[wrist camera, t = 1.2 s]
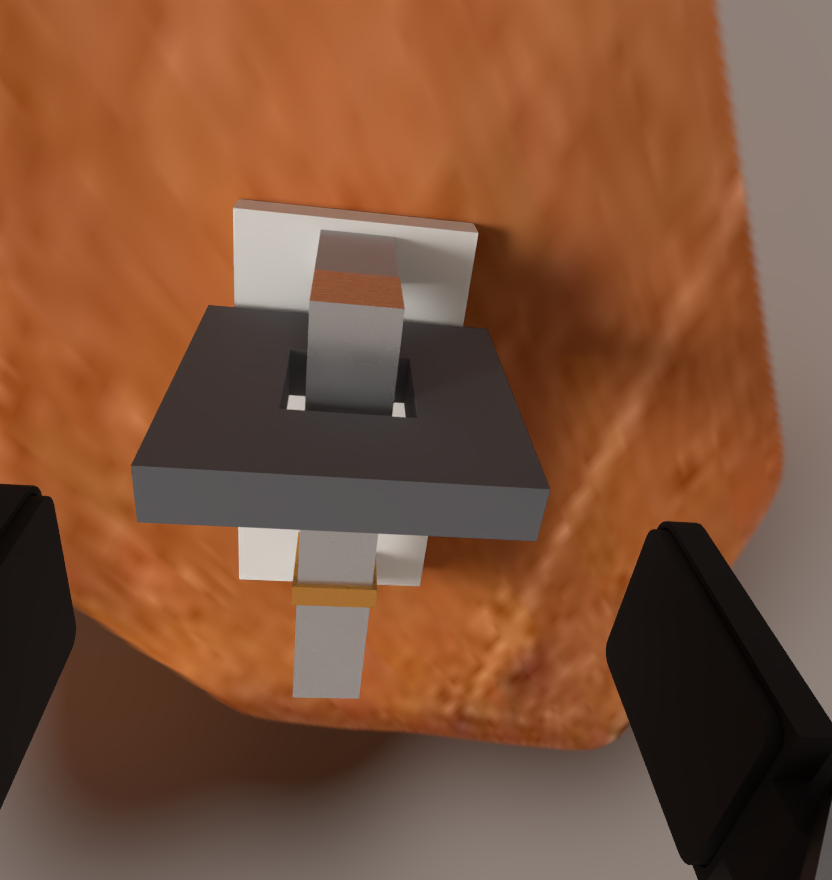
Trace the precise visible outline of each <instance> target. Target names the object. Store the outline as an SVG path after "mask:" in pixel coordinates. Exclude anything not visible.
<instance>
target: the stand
mask: <svg viewBox="0 0 832 880" xmlns="http://www.w3.org/2000/svg"><path fill="white" fill-rule="evenodd" d="M233 237H234V296H235V307H236V308H248V309H260V310H272V311H283V312H295V313H307V314H309V301H310V294H311V288H312V282H313V275H314V269H316V270H327V271H338V272H349V273H359V274H370V275H381V276H392V277H400V281H401V288H402V294H403V301H404V307H405V311H404V320H403V322H413V323H424V324H436V325H448V326H459V327H463V323H464V317H465V311H466V305H467V299H468V293H469V287H470V281H471V275H472V269H473V263H474V257H475V251H476V245H477V239H478V231H477V229H476V227H475V225H474V223H466V222H456V221H447V220H437V219H427V218H418V217H408V216H398V215H389V214H379V213H370V212H360V211H350V210H341V209H331V208H321V207H312V206H302V205H293V204H283V203H273V202H264V201H254V200H244V199H238V200H237V202H236V204H235V205H234V207H233ZM287 409H291V410H305V396H294V395H289V399H288V405H287ZM392 416H393V417H405V408H404V403H394V404H393V413H392ZM298 532H300V530H291V529H270V528H249V527H238V535H239V579H249V580H275V581H293V575H294V566H295V557H296V548H297V539H298ZM427 540H428V536H417V535H396V534H378V540H377V549H376V573H377V584H378V585H404V586H420V582H421V576H422V570H423V564H424V558H425V552H426V546H427Z"/></svg>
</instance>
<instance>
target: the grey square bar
mask: <svg viewBox="0 0 832 880" xmlns="http://www.w3.org/2000/svg"><path fill="white" fill-rule="evenodd" d="M404 311H405V307H404V301H403V294H402V288H401V281H400V277H392V276H381V275H370V274H359V273H349V272H338V271H327V270H316V269H314V275H313V282H312V288H311V294H310V301H309V324H308V348H307V372H306V396H305V411H320V412H335V413H349V414H364V415H378V416H392V413H393V404H394V396H395V387H396V379H397V370H398V362H399V353H400V345H401V337H402V328H403V320H404ZM377 540H378V534H375V533H354V532H333V531H312V530H300V532H298V539H297V548H296V557H295V566H294V575H293V584H292V605H297V609H296V633H295V657H294V680H293V697H306V698H359V693H360V685H361V676H362V668H363V659H364V651H365V642H366V634H367V625H368V617H369V608H375V603H376V595H377V573H376V549H377Z"/></svg>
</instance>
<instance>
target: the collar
mask: <svg viewBox="0 0 832 880" xmlns="http://www.w3.org/2000/svg"><path fill="white" fill-rule="evenodd" d="M308 324H309V314H307V313H295V312H283V311H272V310H260V309H248V308H236V307H225V306H213V305H208V307H207V309H206V311H205V314H204V316H203V318H202V320H201V322H200V324H199V326H198V328H197V330H196V332H195V334H194V336H193V338H192V340H191V343H190V345H189V347H188V349H187V351H186V353H185V355H184V357H183V359H182V361H181V363H180V365H179V367H178V369H177V371H176V374H175V376H174V378H173V380H172V382H171V384H170V386H169V388H168V390H167V392H166V394H165V396H164V398H163V400H162V402H161V405H160V407H159V409H158V411H157V413H156V415H155V417H154V419H153V421H152V423H151V425H150V427H149V429H148V431H147V433H146V436H145V438H144V440H143V442H142V444H141V446H140V448H139V450H138V452H137V454H136V456H135V458H134V460H133V462H132V464H131V471H132V479H133V488H134V497H135V506H136V515H137V522H143V523H164V524H185V525H207V526H228V527H249V528H270V529H291V530H312V531H333V532H354V533H375V534H396V535H417V536H438V537H459V538H481V539H502V540H523V541H536V540H537V537H538V533H539V529H540V526H541V522H542V518H543V515H544V511H545V507H546V504H547V500H548V496H549V493H550V487H549V485H548V482H547V480H546V477H545V475H544V472H543V470H542V467H541V464H540V462H539V459H538V457H537V454H536V452H535V449H534V447H533V444H532V442H531V439H530V436H529V434H528V431H527V429H526V426H525V424H524V421H523V419H522V416H521V414H520V411H519V408H518V406H517V403H516V401H515V398H514V396H513V393H512V391H511V388H510V386H509V383H508V380H507V378H506V375H505V373H504V370H503V368H502V365H501V363H500V360H499V357H498V355H497V352H496V350H495V347H494V345H493V342H492V340H491V337H490V335H489V332H488V329H483V328H471V327H459V326H448V325H436V324H424V323H413V322H403V328H402V337H401V345H400V353H399V362H398V370H397V379H396V387H395V396H394V403H404V408H405V417H393V416H378V415H364V414H349V413H335V412H320V411H305V410H291V409H287V405H288V399H289V395H294V396H306V372H307V348H308Z"/></svg>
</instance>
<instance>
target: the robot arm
mask: <svg viewBox="0 0 832 880" xmlns="http://www.w3.org/2000/svg"><path fill="white" fill-rule="evenodd" d="M75 634H76V623H75V617H74V611H73V606H72V600H71V595H70V589H69V584H68V578H67V573H66V567H65V562H64V556H63V551H62V545H61V540H60V534H59V529H58V523H57V518H56V512H55V507H54V503H53V500H52V498H51V497H49V496H42V494H41V491H40V490H39V488H38V487H36V486H30V485H13V484H0V809H1V807H2V804H3V802H4V800H5V797H6V795H7V793H8V791H9V789H10V787H11V784H12V782H13V780H14V778H15V775H16V773H17V771H18V768H19V766H20V764H21V762H22V760H23V757H24V755H25V753H26V751H27V748H28V746H29V744H30V742H31V740H32V737H33V735H34V733H35V730H36V728H37V726H38V724H39V721H40V719H41V717H42V715H43V712H44V710H45V708H46V706H47V703H48V701H49V699H50V697H51V695H52V692H53V690H54V688H55V686H56V683H57V681H58V679H59V677H60V675H61V672H62V670H63V668H64V665H65V663H66V661H67V659H68V657H69V654H70V652H71V650H72V647H73V644H74V640H75ZM606 658H607V663H608V666H609V669H610V672H611V674H612V677H613V680H614V682H615V685H616V688H617V690H618V693H619V696H620V698H621V701H622V704H623V706H624V709H625V712H626V714H627V717H628V720H629V722H630V725H631V727H632V730H633V733H634V736H635V738H636V741H637V743H638V746H639V749H640V751H641V754H642V757H643V759H644V762H645V765H646V767H647V770H648V773H649V775H650V778H651V781H652V783H653V786H654V789H655V791H656V794H657V797H658V799H659V802H660V805H661V807H662V810H663V813H664V815H665V818H666V820H667V823H668V826H669V829H670V831H671V834H672V837H673V839H674V842H675V844H676V847H677V850H678V852H679V854H680V857H681V858H682V860H683V861H684V862H685V863H686V864H688V865H693V868H694V870H695V873H696V876H697V878H698V880H832V722H831V720H830V719H829V717H828V716H827V714H826V713H825V711H824V710H823V708H822V707H821V705H820V703H819V702H818V700H817V699H816V697H815V696H814V695H813V693H812V691H811V690H810V688H809V687H808V685H807V684H806V682H805V681H804V679H803V678H802V676H801V675H800V673H799V672H798V670H797V669H796V667H795V666H794V664H793V662H792V661H791V659H790V658H789V656H788V655H787V653H786V652H785V650H784V649H783V647H782V646H781V644H780V643H779V641H778V640H777V638H776V637H775V635H774V634H773V632H772V631H771V629H770V627H769V626H768V625H767V623H766V621H765V620H764V618H763V617H762V615H761V614H760V612H759V611H758V609H757V608H756V606H755V605H754V603H753V602H752V600H751V599H750V597H749V596H748V594H747V593H746V591H745V590H744V588H743V587H742V585H741V583H740V582H739V580H738V579H737V577H736V576H735V574H734V573H733V571H732V570H731V568H730V567H729V565H728V564H727V562H726V561H725V559H724V558H723V556H722V555H721V553H720V551H719V550H718V548H717V547H716V545H715V544H714V542H713V541H712V539H711V538H710V536H709V535H708V533H707V532H706V530H705V529H704V528H703V526H702V525H701V524H698V523H689V522H671V521H665V522H662V523H661V524H660V525H659V526H658V528H657V529H653V530H651V531H650V532H649V533H648V535H647V537H646V539H645V542H644V545H643V547H642V550H641V553H640V555H639V558H638V561H637V563H636V566H635V569H634V571H633V574H632V577H631V579H630V582H629V585H628V587H627V590H626V593H625V595H624V598H623V601H622V603H621V606H620V609H619V611H618V614H617V617H616V619H615V622H614V625H613V627H612V630H611V633H610V635H609V638H608V641H607V645H606Z"/></svg>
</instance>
